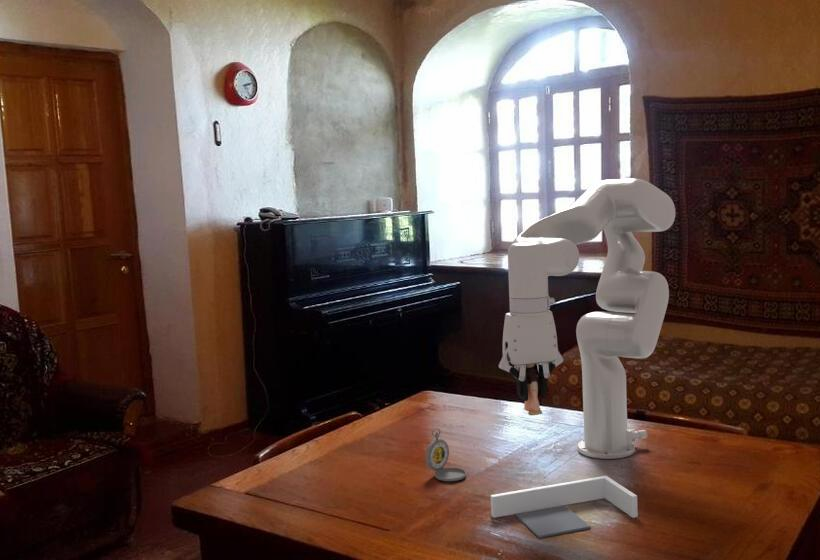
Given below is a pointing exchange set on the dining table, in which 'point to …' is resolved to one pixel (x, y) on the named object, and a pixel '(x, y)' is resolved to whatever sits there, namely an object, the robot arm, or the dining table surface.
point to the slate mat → (552, 521)
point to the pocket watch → (442, 461)
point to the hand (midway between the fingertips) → (532, 397)
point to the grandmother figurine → (532, 391)
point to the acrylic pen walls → (564, 496)
